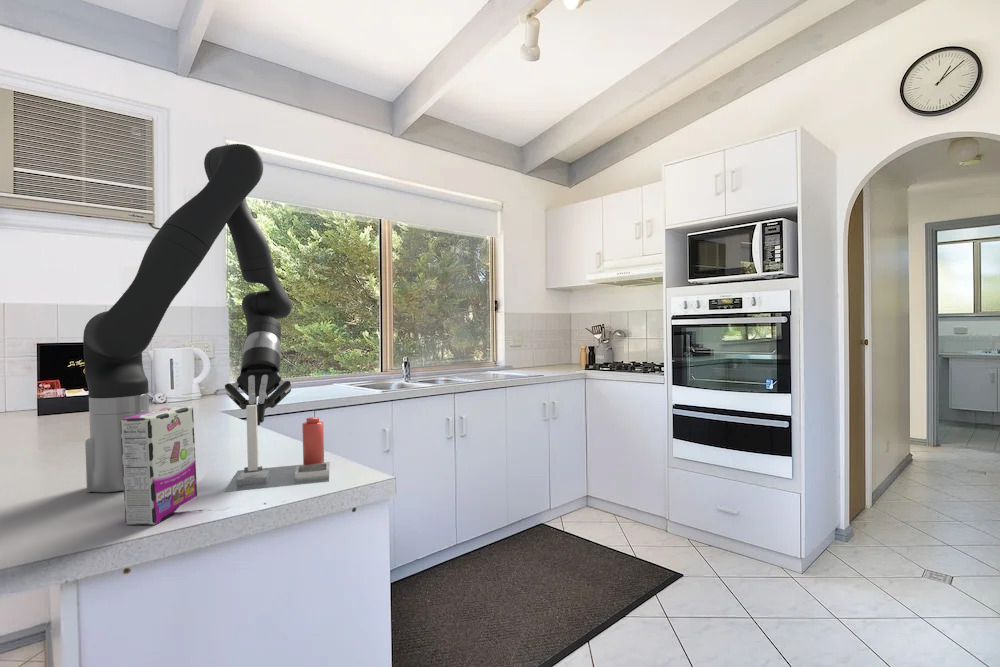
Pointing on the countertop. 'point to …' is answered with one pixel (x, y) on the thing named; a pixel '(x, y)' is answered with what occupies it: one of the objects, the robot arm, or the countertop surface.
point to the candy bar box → (158, 463)
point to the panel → (279, 477)
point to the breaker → (252, 440)
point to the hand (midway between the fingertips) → (255, 423)
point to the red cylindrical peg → (313, 441)
